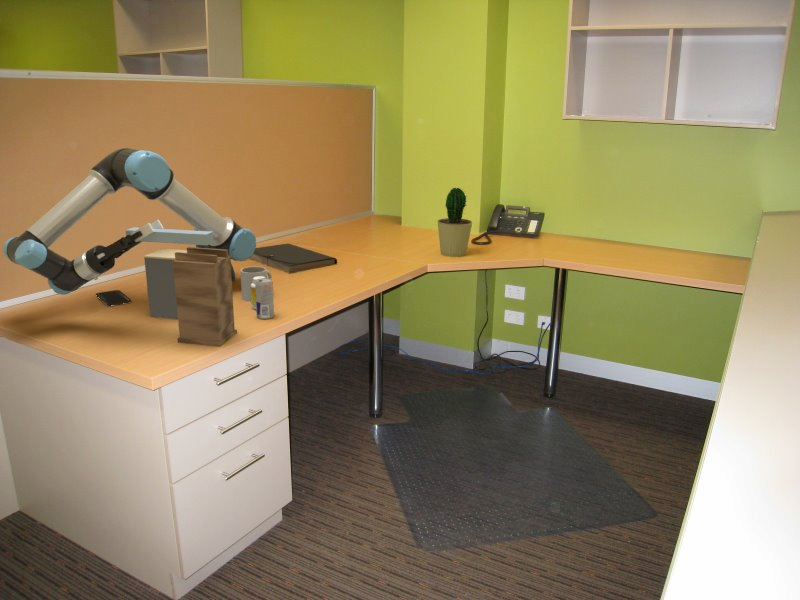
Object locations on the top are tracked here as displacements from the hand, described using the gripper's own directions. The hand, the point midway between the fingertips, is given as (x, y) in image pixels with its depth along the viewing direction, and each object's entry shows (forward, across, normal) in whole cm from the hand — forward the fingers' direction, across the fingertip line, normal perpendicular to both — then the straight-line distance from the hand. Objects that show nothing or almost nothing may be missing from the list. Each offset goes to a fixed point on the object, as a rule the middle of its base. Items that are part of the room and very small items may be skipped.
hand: (155, 225), depth 180 cm
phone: (-46, -26, -11) cm, 54 cm away
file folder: (-12, -90, -31) cm, 96 cm away
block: (-22, -18, -24) cm, 37 cm away
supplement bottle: (-2, -30, -36) cm, 47 cm away
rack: (-5, 0, -34) cm, 35 cm away
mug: (-6, -40, -34) cm, 53 cm away
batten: (+1, 0, -6) cm, 6 cm away
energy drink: (+3, -21, -39) cm, 45 cm away
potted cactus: (+45, -121, -64) cm, 144 cm away
